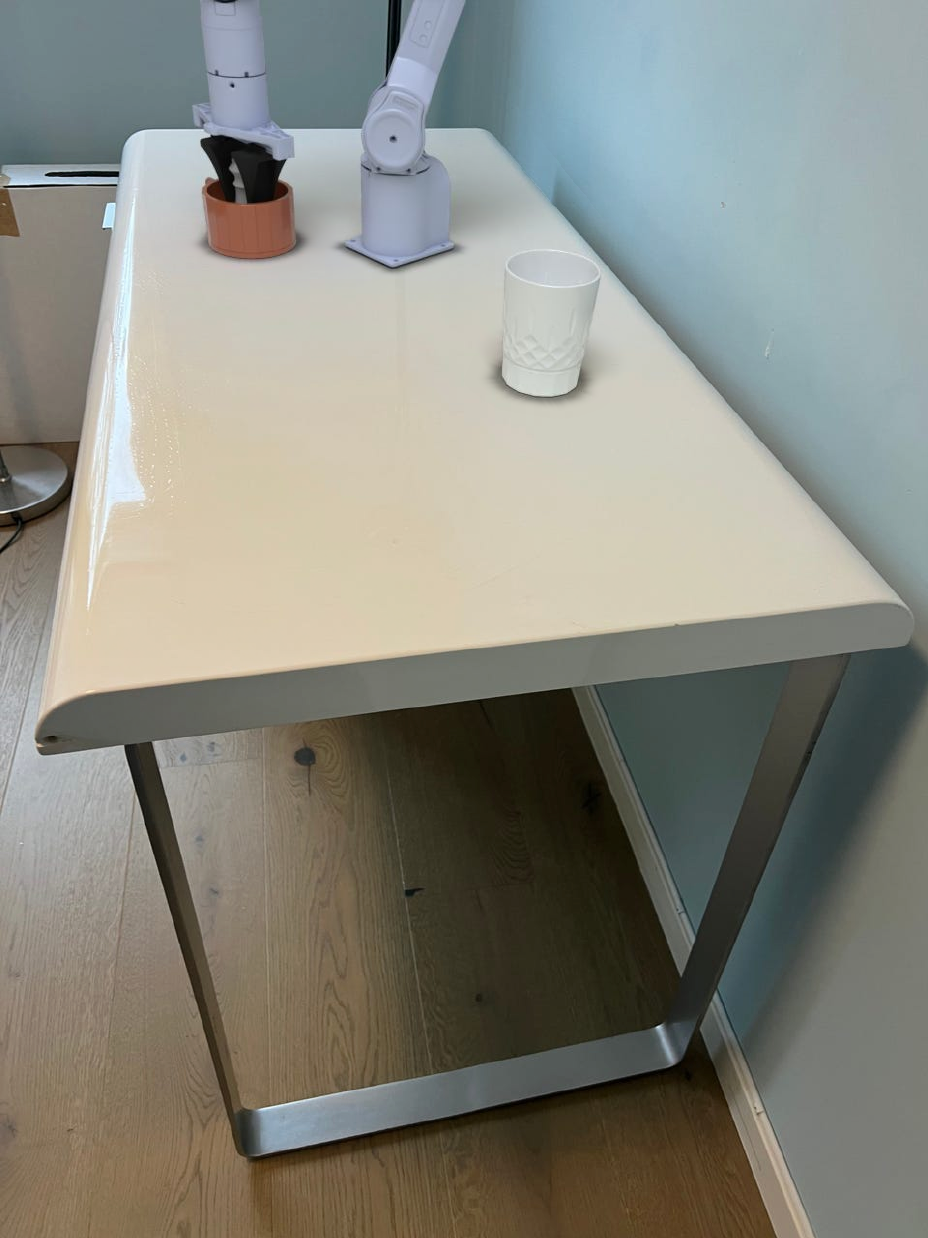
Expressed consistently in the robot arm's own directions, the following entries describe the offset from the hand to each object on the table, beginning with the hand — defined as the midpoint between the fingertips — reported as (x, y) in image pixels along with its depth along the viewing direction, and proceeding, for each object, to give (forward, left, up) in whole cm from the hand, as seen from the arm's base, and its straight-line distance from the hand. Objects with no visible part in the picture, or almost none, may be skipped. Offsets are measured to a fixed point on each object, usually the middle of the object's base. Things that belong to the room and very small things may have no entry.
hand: (249, 213), depth 101 cm
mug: (0, -1, -3) cm, 3 cm away
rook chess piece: (0, 0, -3) cm, 3 cm away
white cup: (-1, +41, -3) cm, 41 cm away
